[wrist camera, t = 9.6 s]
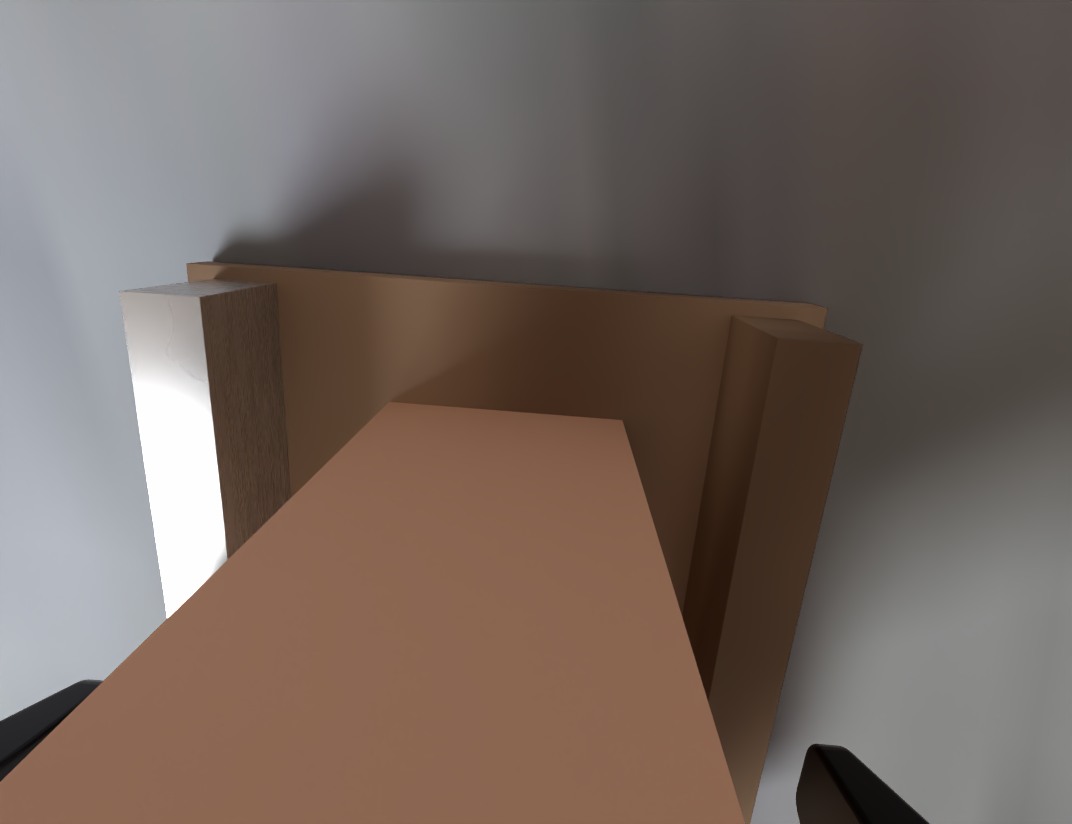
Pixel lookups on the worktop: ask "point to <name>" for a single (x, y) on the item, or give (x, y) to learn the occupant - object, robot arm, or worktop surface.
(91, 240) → the worktop surface
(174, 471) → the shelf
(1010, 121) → the worktop surface
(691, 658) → the box
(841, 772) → the robot arm
